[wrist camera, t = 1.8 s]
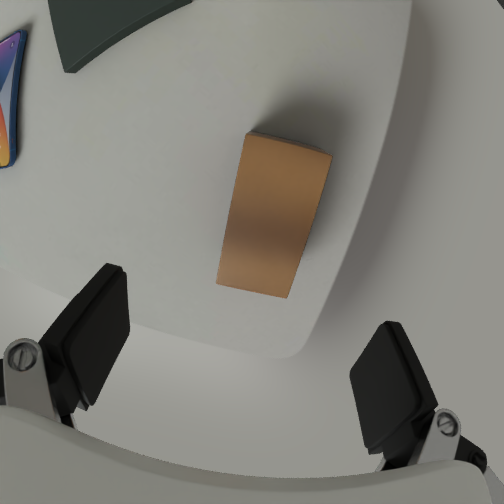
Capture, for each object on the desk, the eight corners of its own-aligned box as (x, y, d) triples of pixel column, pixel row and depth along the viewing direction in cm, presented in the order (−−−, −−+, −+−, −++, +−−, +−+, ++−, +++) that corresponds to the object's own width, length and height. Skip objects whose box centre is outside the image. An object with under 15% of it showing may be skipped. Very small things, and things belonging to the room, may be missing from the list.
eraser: (250, 130, 18) (245, 133, 14) (320, 148, 18) (333, 155, 14) (223, 256, 22) (215, 284, 19) (284, 269, 22) (287, 299, 19)
